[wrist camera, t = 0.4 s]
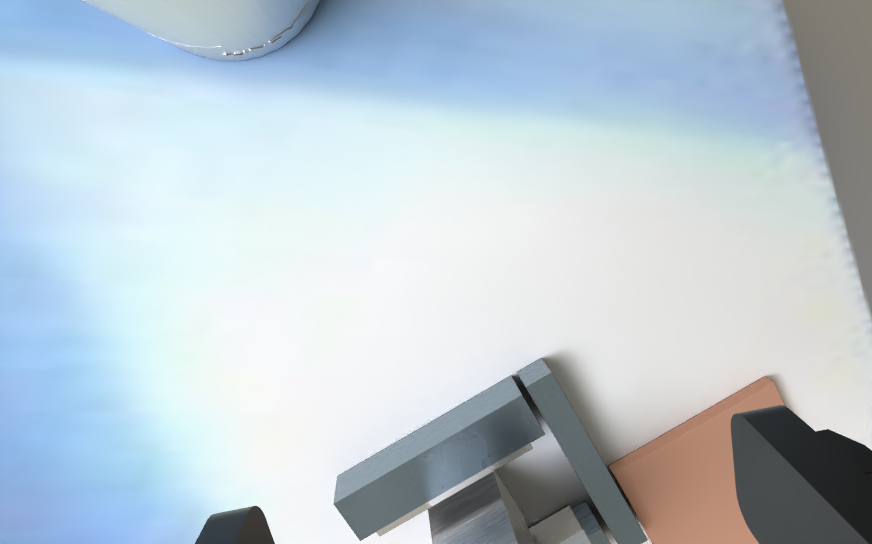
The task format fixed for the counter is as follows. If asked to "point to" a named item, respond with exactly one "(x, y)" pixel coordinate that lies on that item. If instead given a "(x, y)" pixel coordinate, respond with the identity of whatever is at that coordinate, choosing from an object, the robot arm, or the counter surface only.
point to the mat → (693, 475)
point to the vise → (485, 464)
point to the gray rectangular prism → (484, 517)
